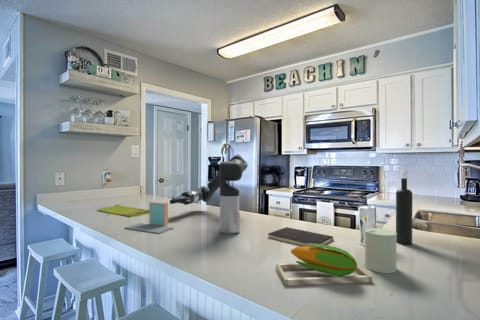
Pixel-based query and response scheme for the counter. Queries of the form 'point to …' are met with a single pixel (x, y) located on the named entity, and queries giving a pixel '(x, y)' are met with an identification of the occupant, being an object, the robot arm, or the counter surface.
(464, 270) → the counter surface
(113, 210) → the dish towel
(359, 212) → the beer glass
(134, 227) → the mat
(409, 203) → the wine bottle
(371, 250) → the can
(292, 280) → the corn rest
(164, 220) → the tile
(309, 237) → the hardcover book
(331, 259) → the corn
